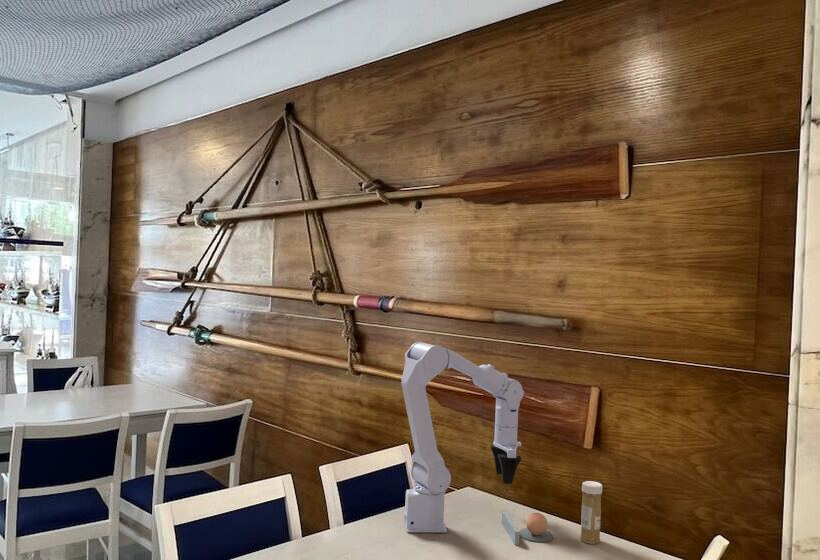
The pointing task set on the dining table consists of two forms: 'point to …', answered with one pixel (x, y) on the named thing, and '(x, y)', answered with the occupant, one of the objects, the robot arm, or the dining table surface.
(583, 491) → the spice jar
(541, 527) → the terracotta ball
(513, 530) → the acrylic wall
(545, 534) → the pad
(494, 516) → the dining table surface
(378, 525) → the dining table surface
